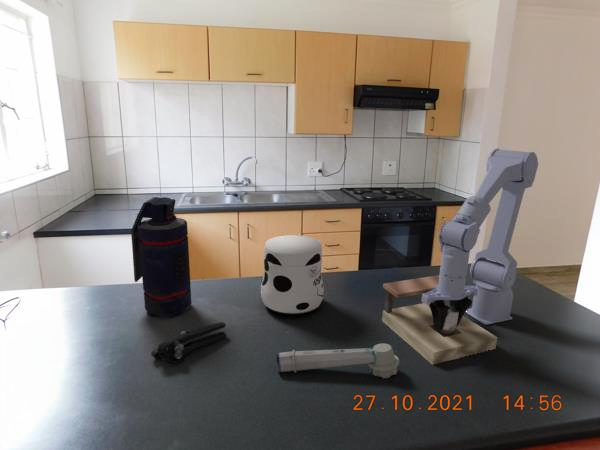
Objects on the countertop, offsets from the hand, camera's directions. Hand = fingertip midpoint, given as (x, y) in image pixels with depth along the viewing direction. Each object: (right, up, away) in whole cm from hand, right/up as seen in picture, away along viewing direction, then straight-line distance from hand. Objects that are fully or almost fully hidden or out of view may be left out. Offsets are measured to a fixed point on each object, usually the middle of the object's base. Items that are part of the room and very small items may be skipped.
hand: (445, 326), depth 97 cm
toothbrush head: (-27, -7, -11) cm, 30 cm away
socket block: (-1, -3, +4) cm, 5 cm away
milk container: (-37, +2, +17) cm, 40 cm away
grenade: (-71, +1, +13) cm, 72 cm away
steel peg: (0, -2, 0) cm, 2 cm away
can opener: (-58, -4, -5) cm, 59 cm away
